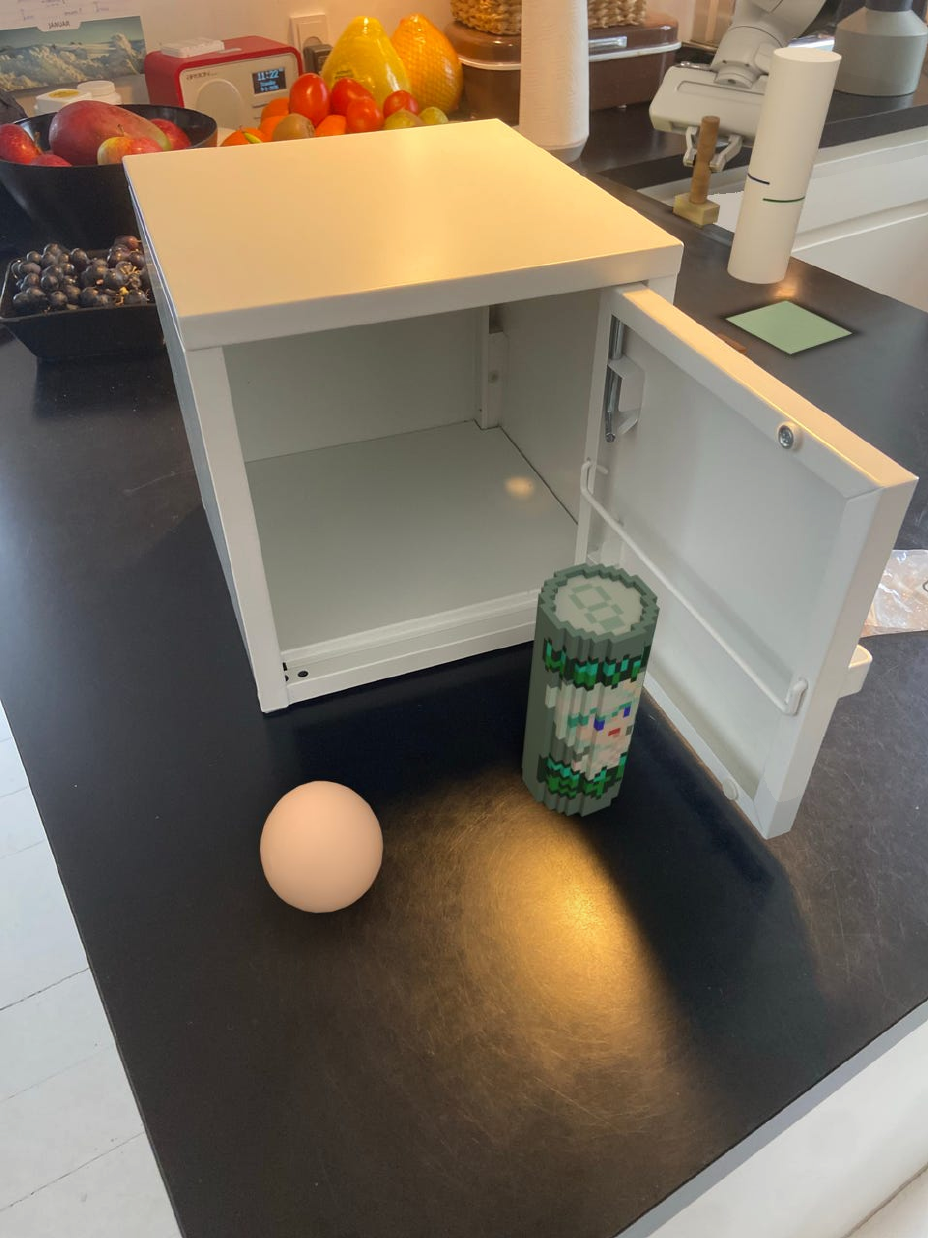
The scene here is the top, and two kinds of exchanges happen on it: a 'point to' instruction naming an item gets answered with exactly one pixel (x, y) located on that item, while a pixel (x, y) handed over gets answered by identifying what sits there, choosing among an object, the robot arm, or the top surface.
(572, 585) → the can
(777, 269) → the cylindrical container
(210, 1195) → the top surface
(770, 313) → the flat green square plate
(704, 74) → the robot arm
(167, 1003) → the top surface
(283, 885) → the egg
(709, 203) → the mallet
